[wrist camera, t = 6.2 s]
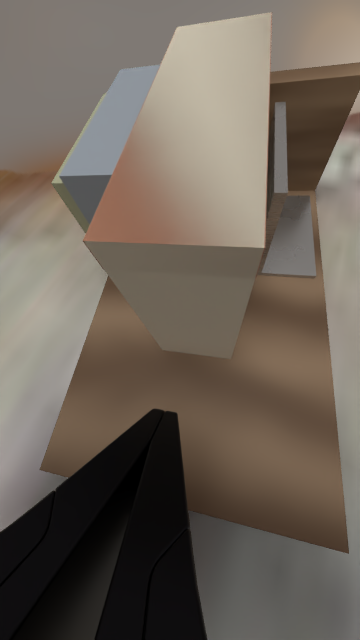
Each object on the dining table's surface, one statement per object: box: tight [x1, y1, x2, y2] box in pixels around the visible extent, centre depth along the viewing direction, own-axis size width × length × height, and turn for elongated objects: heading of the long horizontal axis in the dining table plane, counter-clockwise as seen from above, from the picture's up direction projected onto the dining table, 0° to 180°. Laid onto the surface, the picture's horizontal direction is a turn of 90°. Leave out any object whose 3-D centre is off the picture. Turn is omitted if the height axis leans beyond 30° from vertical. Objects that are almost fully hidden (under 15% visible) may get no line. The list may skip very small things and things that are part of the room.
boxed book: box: [83, 13, 272, 359], centre depth 13 cm, size 14×4×10 cm, turn 170°
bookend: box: [257, 102, 316, 279], centre depth 14 cm, size 8×4×6 cm, turn 170°
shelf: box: [40, 63, 360, 554], centre depth 13 cm, size 25×16×8 cm, turn 170°
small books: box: [51, 65, 160, 233], centre depth 15 cm, size 10×5×8 cm, turn 170°
